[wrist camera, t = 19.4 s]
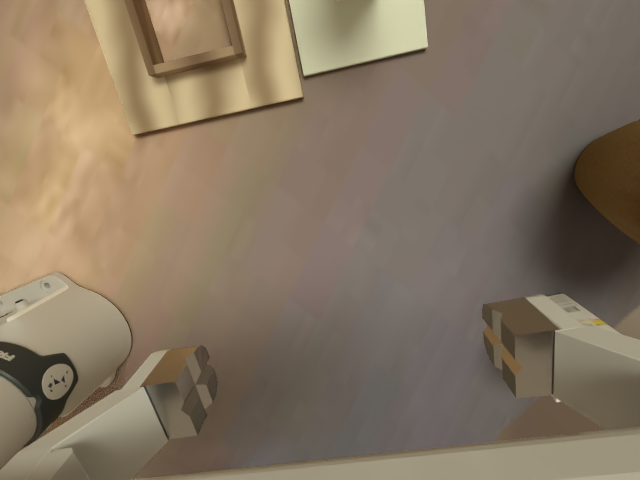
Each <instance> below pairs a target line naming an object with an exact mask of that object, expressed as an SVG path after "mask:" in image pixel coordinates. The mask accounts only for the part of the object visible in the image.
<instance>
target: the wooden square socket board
mask: <svg viewBox="0 0 640 480" xmlns="http://www.w3.org/2000/svg"><path fill="white" fill-rule="evenodd" d="M84 1H85V4H86V6H87V9H88V12H89V15H90V18H91V20H92V23H93V26H94V29H95V32H96V34H97V37H98V40H99V43H100V45H101V48H102V51H103V54H104V57H105V59H106V62H107V65H108V68H109V70H110V73H111V76H112V79H113V82H114V84H115V87H116V90H117V93H118V96H119V98H120V101H121V104H122V107H123V109H124V112H125V115H126V118H127V121H128V123H129V126H130V129H131V132H132V135H138V134H143V133H147V132H152V131H156V130H161V129H165V128H170V127H174V126H178V125H183V124H187V123H192V122H196V121H201V120H205V119H210V118H214V117H219V116H223V115H227V114H232V113H236V112H241V111H245V110H250V109H254V108H259V107H263V106H267V105H272V104H276V103H281V102H285V101H290V100H294V99H299V98H303V97H304V96H303V91H302V85H301V80H300V75H299V70H298V65H297V60H296V55H295V50H294V45H293V40H292V35H291V30H290V25H289V20H288V15H287V10H286V5H285V0H221V2H222V6H223V10H224V14H225V18H226V22H227V26H228V30H229V34H230V38H231V42H232V46H229V47H225V48H221V49H216V50H212V51H208V52H204V53H200V54H196V55H192V56H188V57H184V58H180V59H176V60H172V61H168V62H164V60H163V57H162V54H161V50H160V47H159V44H158V41H157V38H156V34H155V31H154V28H153V25H152V21H151V18H150V15H149V12H148V9H147V5H146V2H145V0H84Z"/></svg>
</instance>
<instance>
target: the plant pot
mask: <svg viewBox="0 0 640 480" xmlns="http://www.w3.org/2000/svg"><path fill="white" fill-rule="evenodd" d="M574 177H575V182H576V185H577V187H578V189H579V190H580V191H581V193H582V194H583V195H584V196H585V197H586V199H587V200H588V201H589V202H590V203H591V204H592V205H593V206H594V207H595V208H596V209H597V210H598V211H599V212H600V213H601V214H602V215H603V216H604V217H605V218H606V219H607V220H609V221H610V222H611V223H612V224H613V225H614V226H616V227H617V228H618V229H619V230H621V231H622V232H623V233H624V234H626V235H627V236H629V237H630V238H631V239H633V240H634V241H635V242H637V243H638V244H640V120H638V121H635V122H633V123H630V124H628V125H625V126H623V127H621V128H618V129H616V130H614V131H612V132H610V133H608V134H606V135H604V136H602V137H600V138H598V139H596V140H594V141H593V142H592V143H591V144H589V145H588V146H587V147H586V148H585V149H584V151H583V152H582V153H581V155H580V157H579V158H578V160H577V163H576V166H575V172H574Z"/></svg>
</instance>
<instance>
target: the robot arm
mask: <svg viewBox="0 0 640 480" xmlns="http://www.w3.org/2000/svg"><path fill="white" fill-rule="evenodd" d="M49 284H50V285H49ZM482 318H483V319H484V321H485V322H486V323H487V327H486V328H485V330H484V331H483V336H484V344H485V348H486V351H487V354H488V356H489V358H490V360H491V362H492V363H493V365H494V366H495V367H497V368H499V369H501V370H502V374H503V380H504V381H505V383H506V384H507V386H508V387H509V389H510V390H511V392H512V393H513V394H514V396H515V397H516V398H525V397H536V396H548V395H553V397H555V398H556V399H558V400H560V401H561V402H563V403H564V404H566V405H568V406H569V407H571V408H573V409H574V410H576V411H577V412H579V413H581V414H582V415H584V416H585V417H587V418H589V419H590V420H592V421H594V422H595V423H597V424H599V425H600V426H602V427H603V428H605V429H606V430H602V431H592V432H582V433H574V434H564V435H555V436H546V437H535V438H526V439H516V440H507V441H496V442H487V443H477V444H467V445H457V446H448V447H438V448H428V449H418V450H409V451H399V452H389V453H379V454H370V455H361V456H351V457H342V458H332V459H323V460H313V461H304V462H294V463H285V464H275V465H266V466H256V467H246V468H236V469H227V470H217V471H207V472H198V473H188V474H178V475H169V476H159V477H149V478H140V479H132V478H133V477H134V476H135V475H136V474H137V473H138V472H139V471H140V470H141V469H142V468H143V467H144V466H145V465H146V464H147V463H148V462H149V461H150V460H151V459H152V458H153V457H154V456H155V455H156V453H157V452H158V451H159V450H160V449H161V448H162V447H163V446H164V445H165V444H166V443H167V442H168V440H170V439H177V438H183V437H190V436H197V435H198V433H199V431H200V429H201V427H202V425H203V422H204V420H205V418H206V416H207V414H206V411H205V409H206V408H207V407H208V406H209V405H210V404H211V403H212V402H213V400H214V398H215V396H216V391H217V377H216V374H215V371H214V369H213V368H212V367H211V366H209V365H208V364H207V362H208V359H209V354H208V352H207V350H206V348H205V347H204V346H202V345H200V346H192V347H184V348H176V349H171V350H170V349H168V350H162V351H156V352H153V353H151V355H150V356H149V357H148V358H147V359H146V361H145V362H144V363H143V364H142V365H141V366H140V368H139V369H138V370H137V371H136V372H135V374H134V375H133V376H132V377H131V378H130V380H129V381H128V382H127V383H126V384H125V386H124V387H123V388H122V389H121V390H116V391H114V392H113V393H111V394H109V395H108V396H106V397H105V398H103V399H102V400H100V401H98V402H97V403H95V404H94V405H92V406H90V407H89V408H87V409H86V410H84V411H83V412H81V413H79V414H78V415H76V416H75V417H73V418H71V419H70V420H68V421H67V422H65V423H64V424H62V425H60V426H59V427H57V428H56V429H54V430H52V431H51V432H49V433H48V434H46V435H45V436H43V437H41V438H40V439H38V440H37V441H35V440H36V439H37V438H38V437H39V436H40V435H42V434H43V433H44V432H45V431H46V430H47V429H48V428H49V427H50V426H51V425H52V424H53V422H54V421H55V420H56V419H57V418H58V417H65V416H67V415H68V414H70V413H71V412H72V411H73V410H74V409H75V408H76V407H78V406H79V405H80V404H81V403H82V402H83V401H84V400H85V399H86V398H87V397H89V396H90V395H91V394H92V393H93V392H94V391H95V390H96V389H97V388H98V387H107V386H108V385H110V384H111V383H112V382H113V380H114V378H115V375H116V370H117V368H118V367H119V366H120V365H121V364H122V363H123V362H124V361H125V360H126V358H127V357H128V355H129V352H130V349H131V333H130V329H129V326H128V324H127V322H126V320H125V318H124V317H123V315H122V314H121V313H120V311H119V310H118V309H117V308H116V307H115V306H114V305H113V304H112V303H111V302H109V301H108V300H107V299H105V298H104V297H102V296H101V295H99V294H97V293H95V292H93V291H90V290H88V289H85V288H82V287H80V286H78V285H76V284H75V283H74V282H72V281H71V280H70V279H69V278H67V277H66V276H64V275H63V274H61V273H58V272H53V273H50V274H48V275H46V276H43V277H41V278H38V279H36V280H34V281H31V282H29V283H27V284H24V285H22V286H19V287H17V288H15V289H12V290H10V291H8V292H5V293H3V294H0V480H640V340H638V339H634V338H631V337H628V336H624V335H621V334H618V333H614V332H611V331H608V330H605V329H601V328H598V327H595V326H584V325H582V324H581V323H580V322H579V321H577V320H576V319H575V318H573V317H572V316H571V315H570V314H568V313H567V312H566V311H564V310H563V309H562V308H561V307H559V306H558V305H557V304H556V303H554V302H553V301H552V300H550V299H549V298H548V297H547V296H545V295H541V294H539V295H533V296H528V297H523V298H518V299H512V300H506V301H500V302H494V303H489V304H483V307H482ZM33 441H35V442H33ZM32 442H33V443H32ZM31 443H32V444H31ZM29 444H30V445H29ZM27 445H29V446H27ZM25 446H27V447H26V448H24V449H22V450H21V451H19V450H20V449H21V448H22V447H25ZM18 451H19V452H18ZM17 452H18V453H17ZM16 453H17V454H16ZM15 454H16V455H15Z"/></svg>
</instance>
